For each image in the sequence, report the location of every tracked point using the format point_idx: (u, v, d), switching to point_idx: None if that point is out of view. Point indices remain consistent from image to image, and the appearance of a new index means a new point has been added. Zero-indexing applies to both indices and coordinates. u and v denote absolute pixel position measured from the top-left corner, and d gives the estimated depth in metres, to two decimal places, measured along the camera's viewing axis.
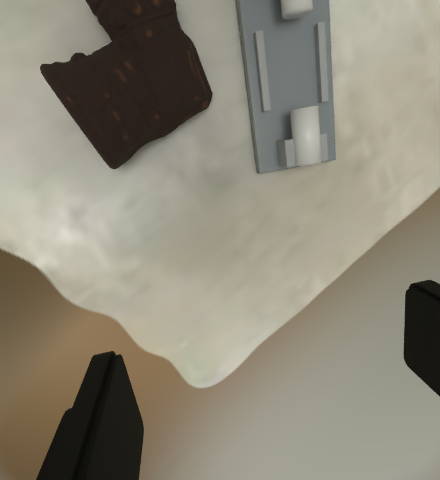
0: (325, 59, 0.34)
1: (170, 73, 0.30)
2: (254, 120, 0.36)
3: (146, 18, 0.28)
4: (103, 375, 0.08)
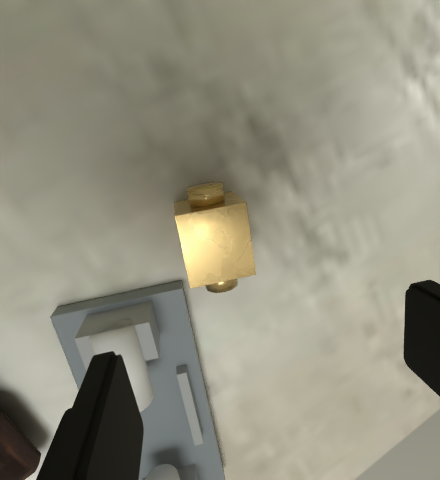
0: (193, 407, 0.26)
1: None
2: None
3: None
4: (103, 375, 0.08)
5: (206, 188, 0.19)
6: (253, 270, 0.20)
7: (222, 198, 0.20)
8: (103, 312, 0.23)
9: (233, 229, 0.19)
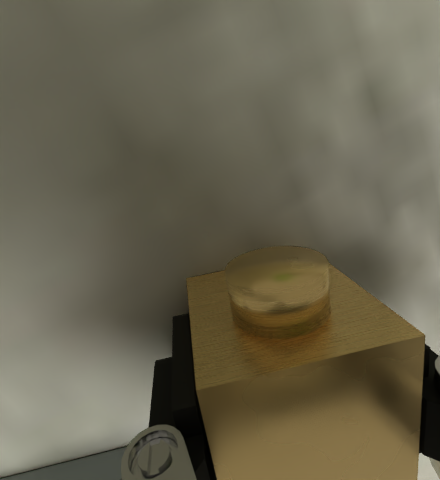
0: None
1: None
2: None
3: None
4: (188, 330, 0.09)
5: (292, 285, 0.06)
6: None
7: (329, 303, 0.07)
8: None
9: (372, 410, 0.06)
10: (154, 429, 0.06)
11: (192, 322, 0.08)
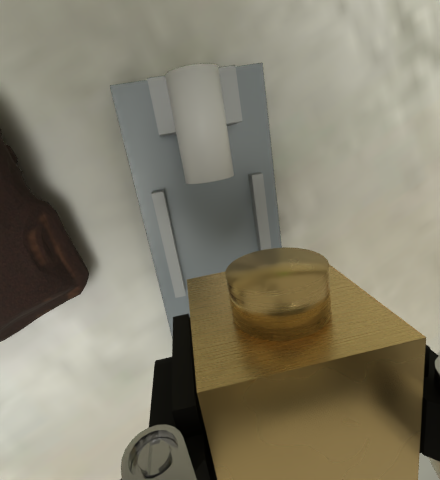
0: (266, 223, 0.22)
1: None
2: (165, 303, 0.24)
3: None
4: (188, 330, 0.09)
5: (293, 287, 0.06)
6: None
7: (330, 305, 0.07)
8: None
9: (373, 413, 0.06)
10: (154, 429, 0.06)
11: (193, 324, 0.08)
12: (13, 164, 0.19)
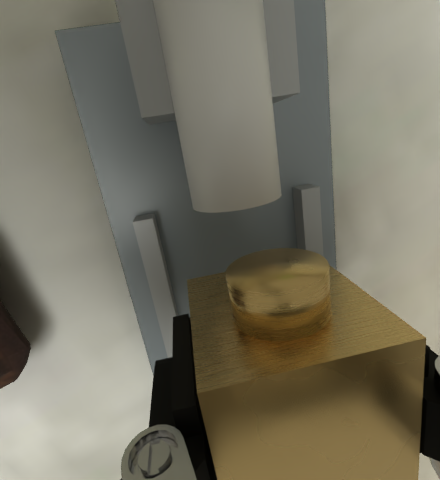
0: None
1: None
2: None
3: None
4: (188, 330, 0.09)
5: (293, 287, 0.06)
6: None
7: (330, 305, 0.07)
8: None
9: (373, 413, 0.06)
10: (154, 429, 0.06)
11: (193, 324, 0.08)
12: None
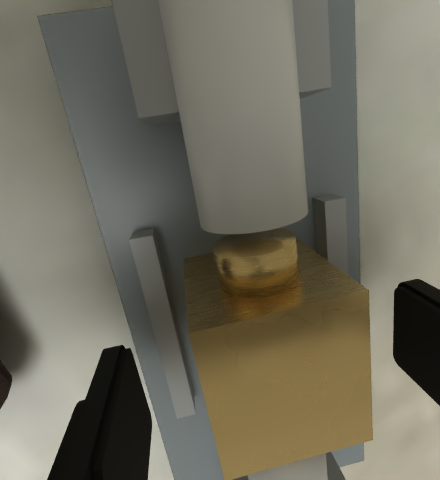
0: None
1: None
2: (158, 417, 0.14)
3: None
4: (114, 367, 0.08)
5: (264, 254, 0.08)
6: (368, 432, 0.09)
7: (297, 271, 0.09)
8: None
9: (330, 353, 0.08)
10: None
11: (187, 290, 0.09)
12: None
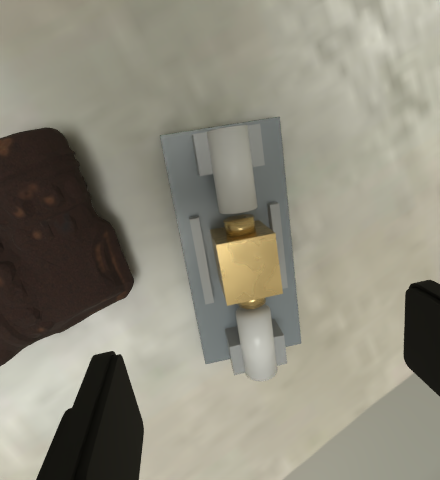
0: (281, 244, 0.27)
1: (66, 279, 0.23)
2: (195, 308, 0.29)
3: (33, 219, 0.21)
4: (103, 375, 0.08)
5: (241, 221, 0.23)
6: (280, 290, 0.24)
7: (254, 229, 0.24)
8: None
9: (264, 255, 0.23)
10: None
11: (213, 237, 0.24)
12: (87, 191, 0.24)
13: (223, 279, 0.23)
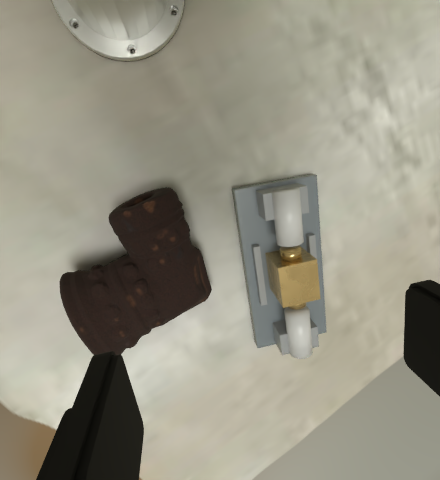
0: None
1: (176, 289, 0.33)
2: (252, 308, 0.40)
3: (161, 251, 0.32)
4: (103, 375, 0.08)
5: (293, 251, 0.34)
6: (319, 296, 0.35)
7: (301, 255, 0.35)
8: (267, 188, 0.35)
9: (309, 274, 0.34)
10: None
11: (272, 261, 0.35)
12: None
13: (281, 290, 0.34)
